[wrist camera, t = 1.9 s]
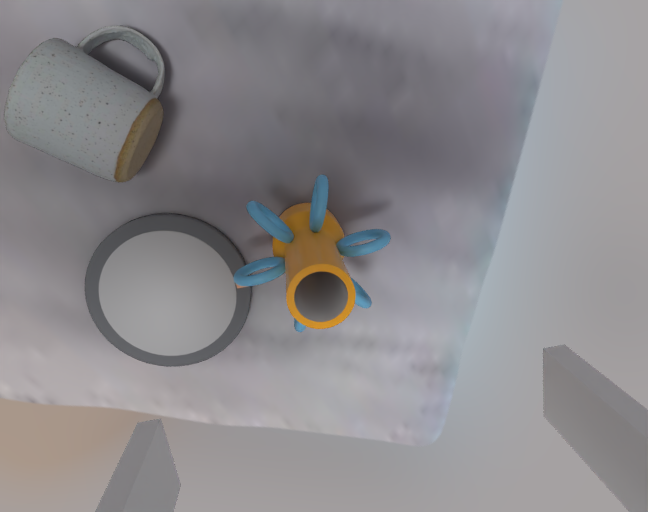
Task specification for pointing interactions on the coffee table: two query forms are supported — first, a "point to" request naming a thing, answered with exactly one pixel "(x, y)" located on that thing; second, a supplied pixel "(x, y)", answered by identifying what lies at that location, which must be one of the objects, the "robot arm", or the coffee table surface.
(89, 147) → the ceramic mug
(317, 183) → the cylinder
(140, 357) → the plate
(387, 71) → the coffee table surface
